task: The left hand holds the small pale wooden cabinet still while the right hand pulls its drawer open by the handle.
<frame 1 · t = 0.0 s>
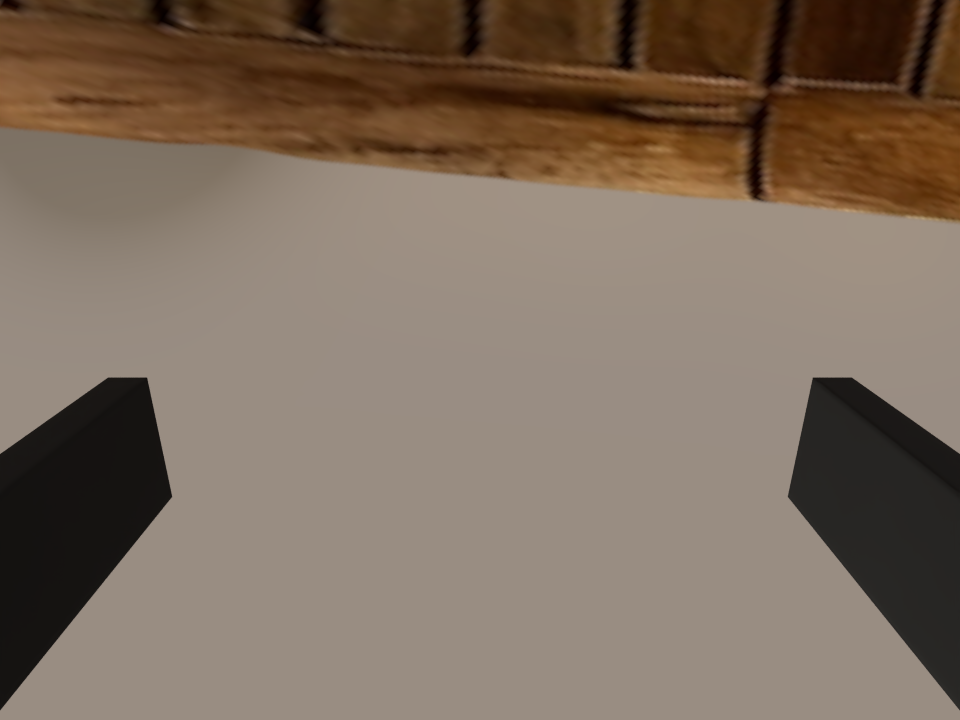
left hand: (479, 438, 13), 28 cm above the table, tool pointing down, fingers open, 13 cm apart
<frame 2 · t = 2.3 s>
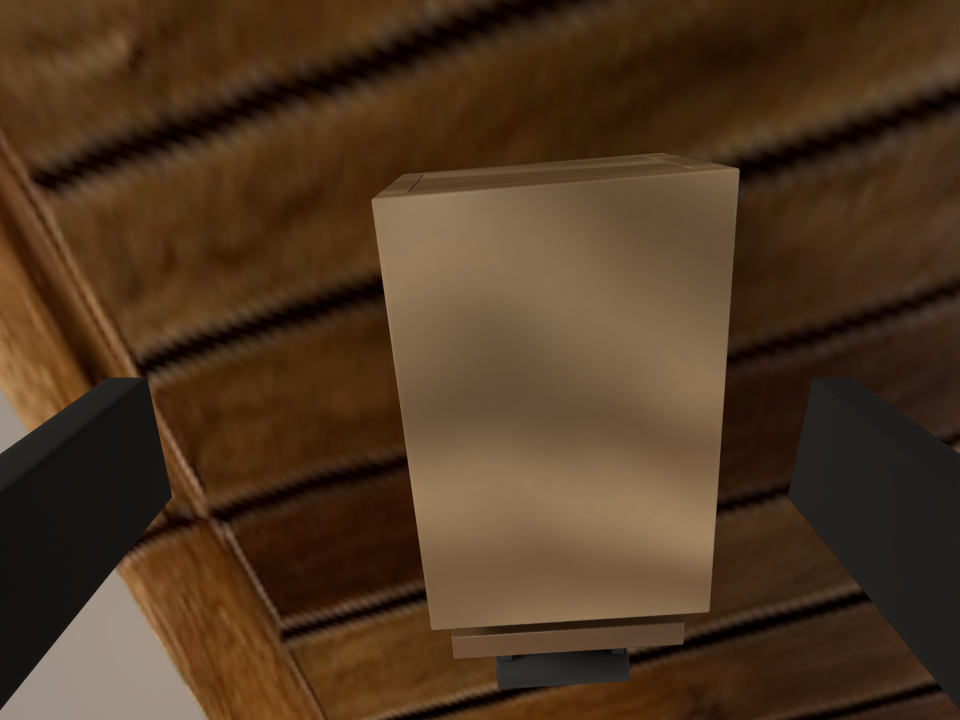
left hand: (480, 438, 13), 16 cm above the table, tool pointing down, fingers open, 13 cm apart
cabinet: (540, 349, 29), on the table
drawer: (555, 509, 27), point 4 cm above the table, slide at 1.4 cm
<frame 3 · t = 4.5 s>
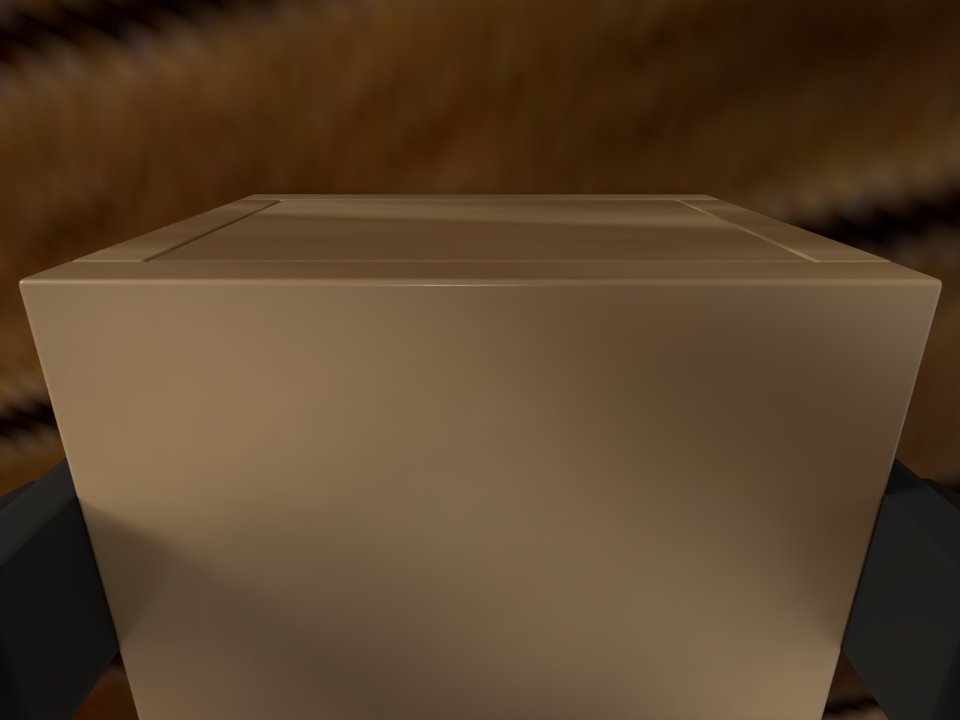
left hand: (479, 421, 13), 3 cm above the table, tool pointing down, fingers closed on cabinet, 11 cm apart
cabinet: (480, 490, 18), on the table, touching left hand
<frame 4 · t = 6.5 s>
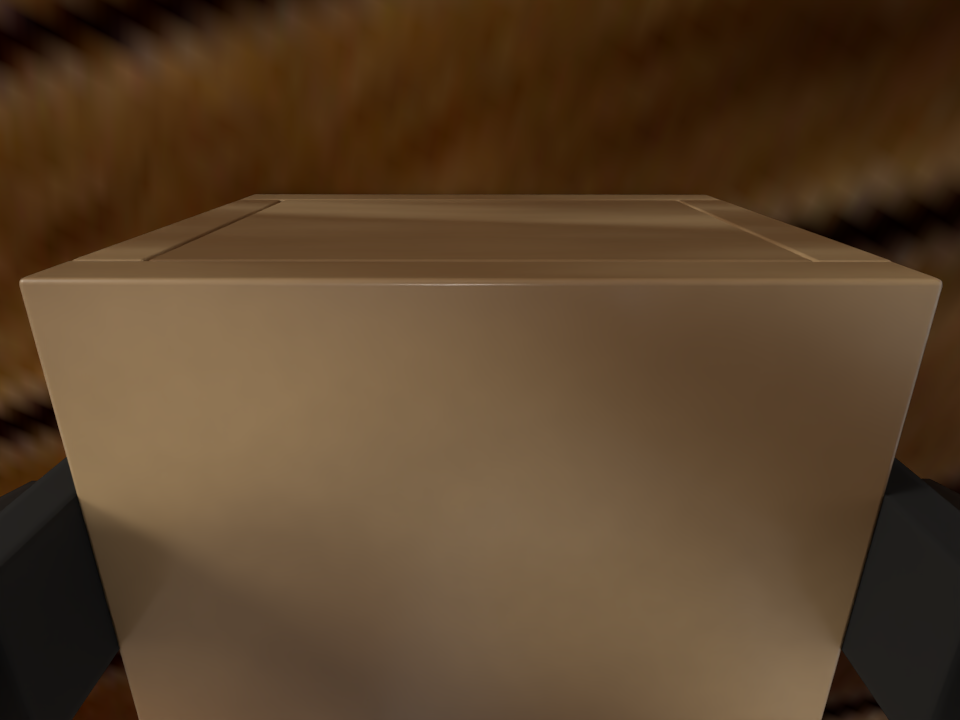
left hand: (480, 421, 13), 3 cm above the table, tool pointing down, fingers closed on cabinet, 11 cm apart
cabinet: (480, 490, 18), on the table, touching left hand
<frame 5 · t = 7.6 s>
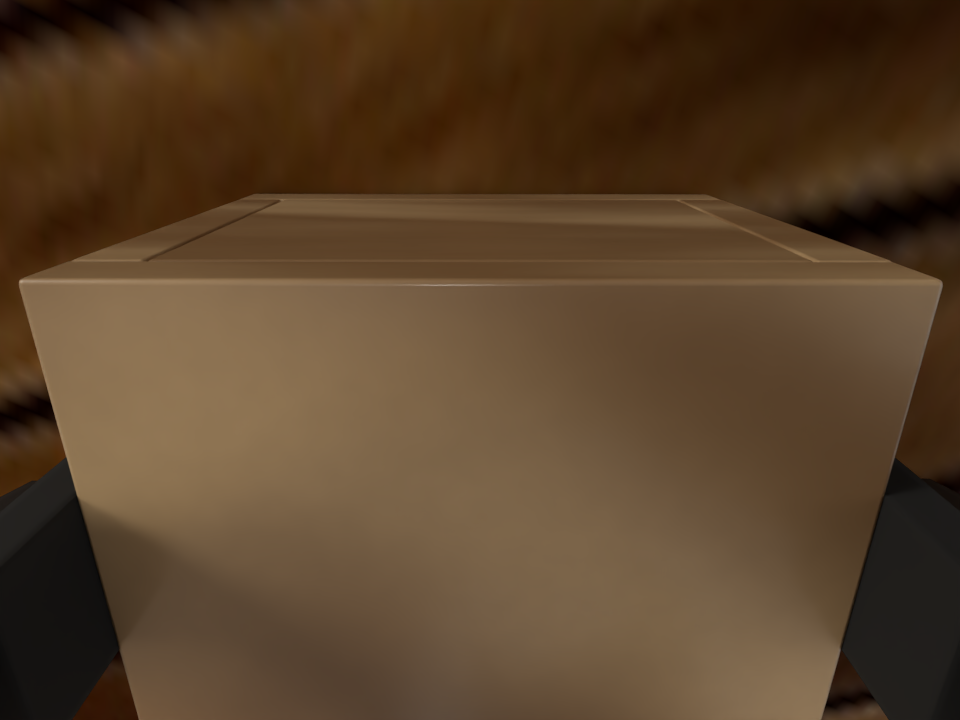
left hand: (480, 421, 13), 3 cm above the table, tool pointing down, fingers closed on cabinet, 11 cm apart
cabinet: (480, 490, 18), on the table, touching left hand
when the left hand's fingers open (3 cm above the table, at t = 9.2 s): cabinet stays where it is, on the table.
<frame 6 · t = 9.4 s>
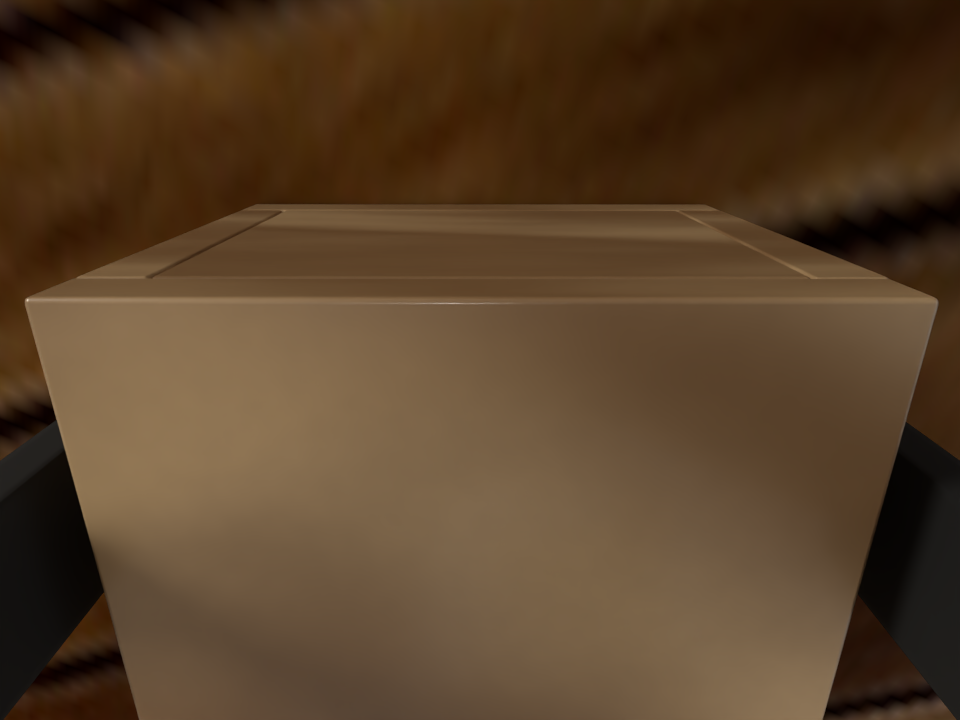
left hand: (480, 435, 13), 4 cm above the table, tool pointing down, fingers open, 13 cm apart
cabinet: (480, 497, 18), on the table
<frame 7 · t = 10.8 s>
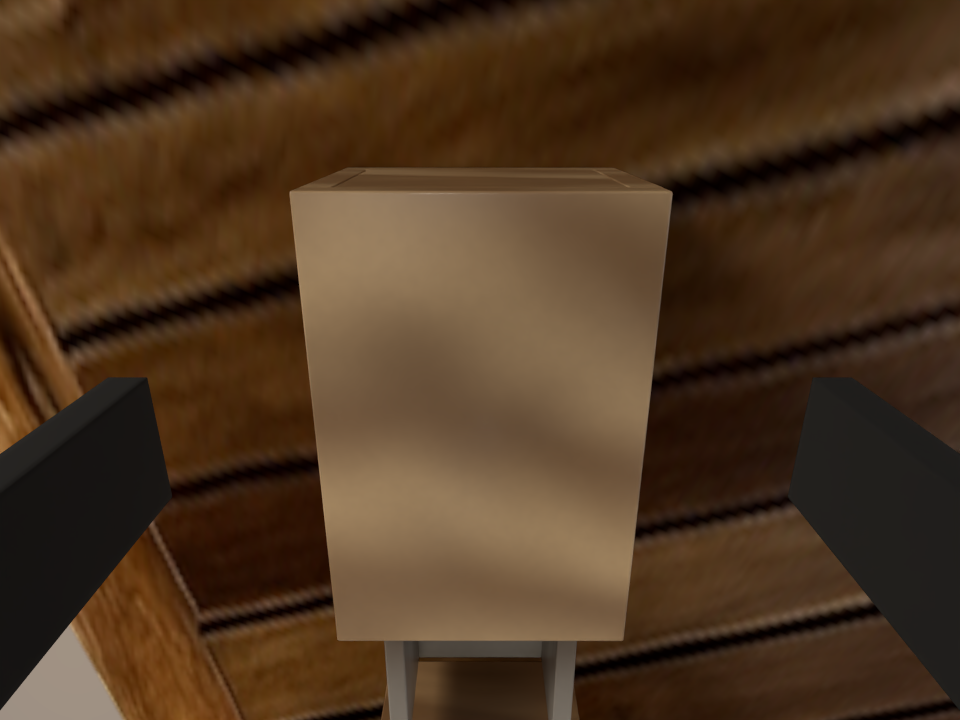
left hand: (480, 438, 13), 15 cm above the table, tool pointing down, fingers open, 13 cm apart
cabinet: (480, 358, 28), on the table
drawer: (480, 654, 29), point 4 cm above the table, slide at 8.7 cm
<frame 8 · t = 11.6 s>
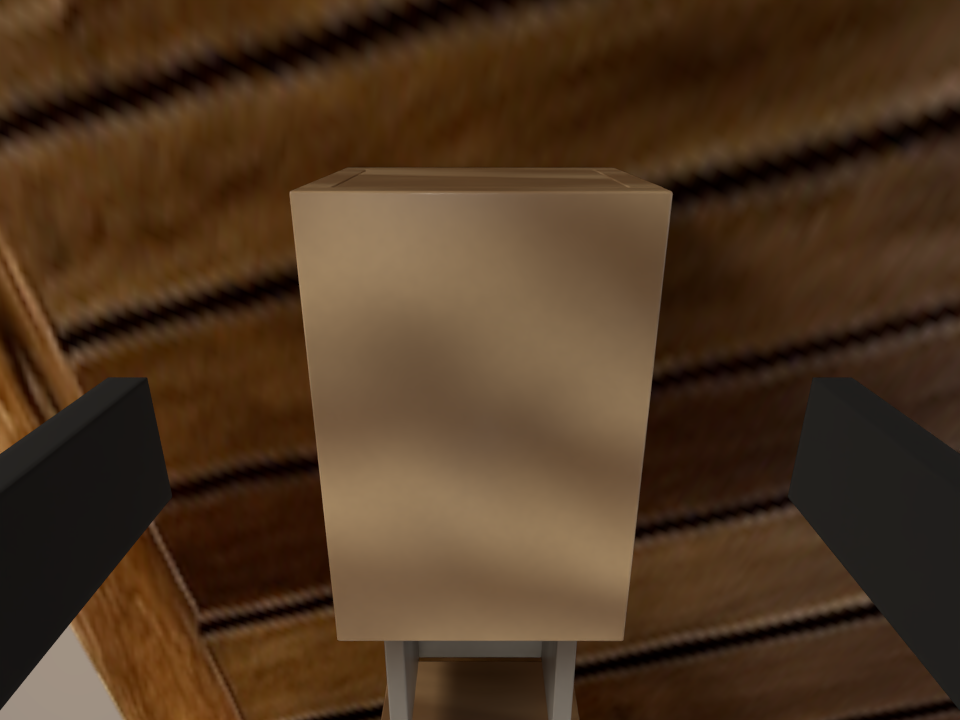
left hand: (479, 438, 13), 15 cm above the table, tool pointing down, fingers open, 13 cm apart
cabinet: (480, 358, 28), on the table
drawer: (480, 654, 29), point 4 cm above the table, slide at 8.7 cm
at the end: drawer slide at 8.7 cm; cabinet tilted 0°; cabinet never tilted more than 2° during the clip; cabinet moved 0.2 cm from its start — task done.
